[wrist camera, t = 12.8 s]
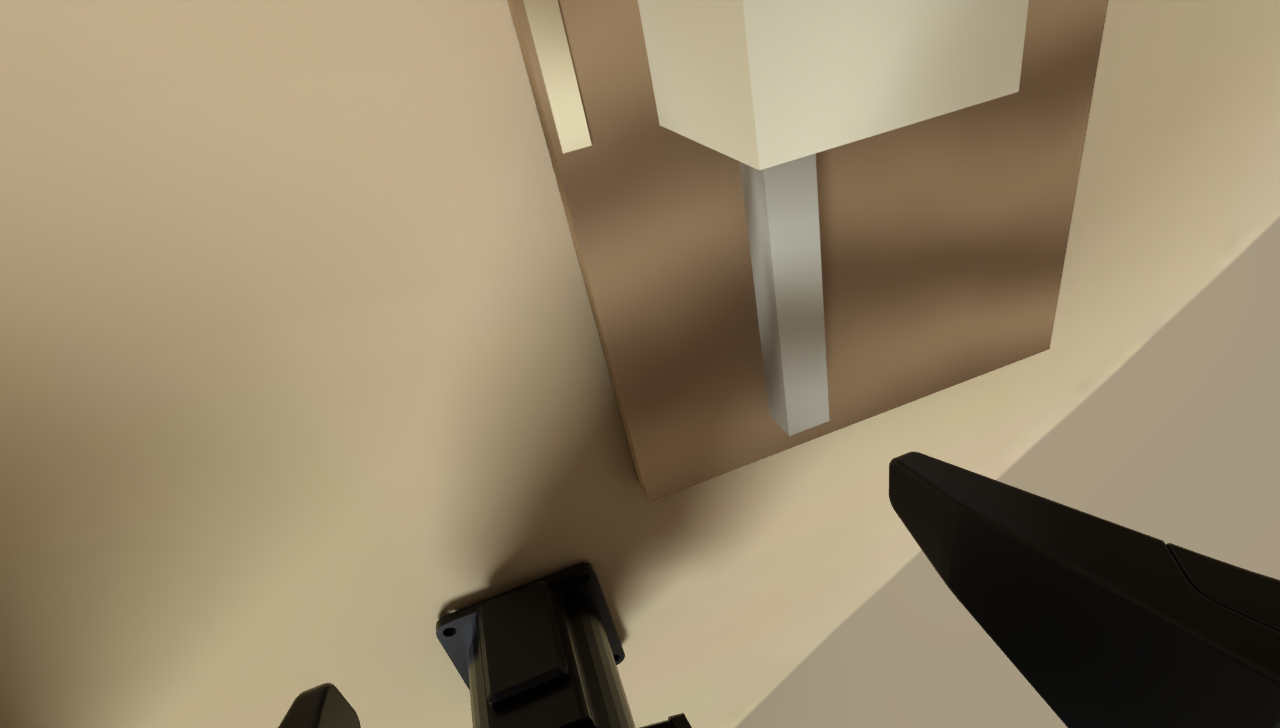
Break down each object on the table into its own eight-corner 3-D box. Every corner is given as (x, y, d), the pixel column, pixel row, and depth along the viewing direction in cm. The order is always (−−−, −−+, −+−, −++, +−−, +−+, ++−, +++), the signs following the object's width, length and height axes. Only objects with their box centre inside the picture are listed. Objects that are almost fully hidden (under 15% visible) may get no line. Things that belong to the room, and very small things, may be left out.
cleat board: (1026, 336, 28) (1081, 365, 25) (639, 482, 25) (661, 529, 22) (1151, -530, 15) (1283, -629, 13) (389, -434, 12) (383, -535, 10)
